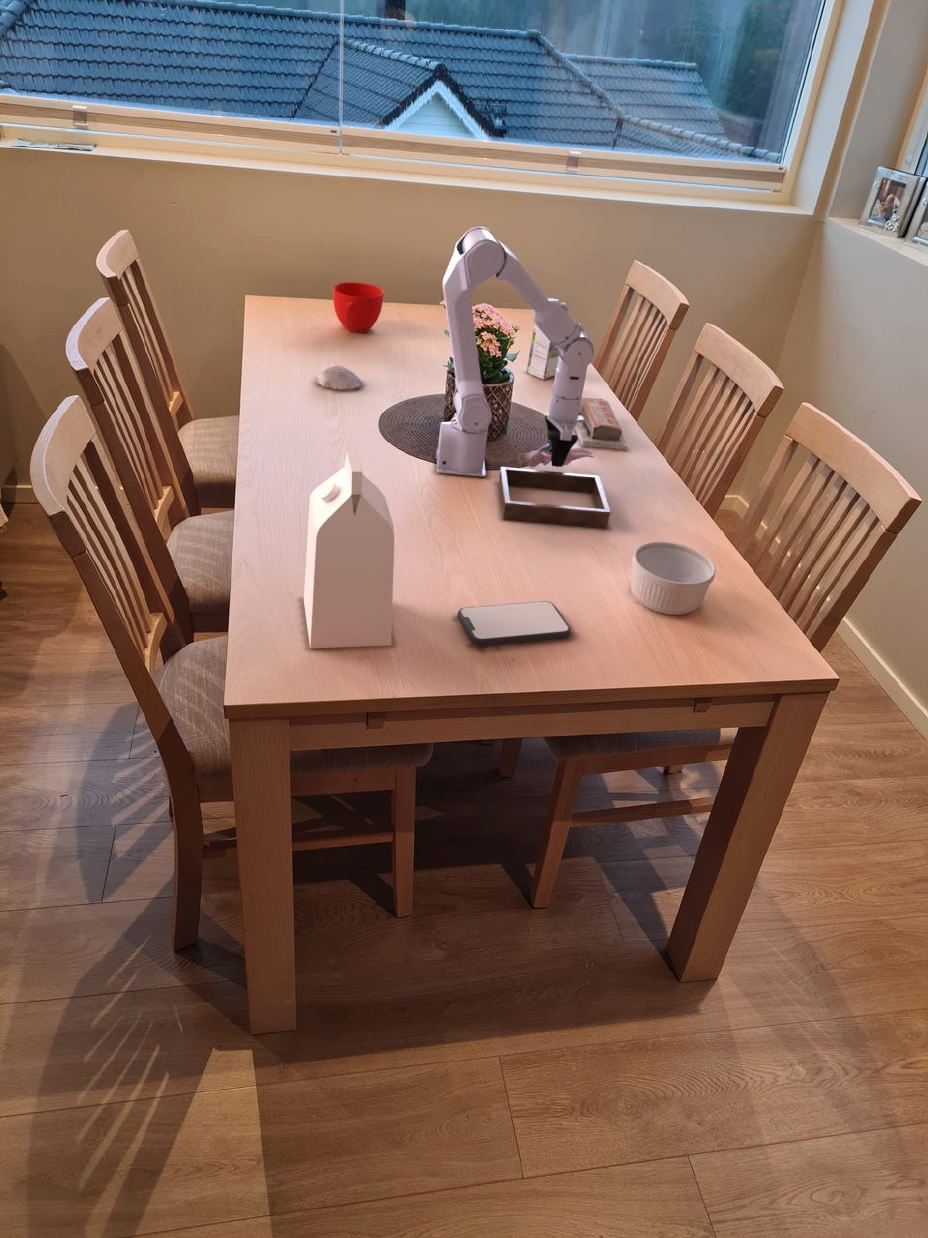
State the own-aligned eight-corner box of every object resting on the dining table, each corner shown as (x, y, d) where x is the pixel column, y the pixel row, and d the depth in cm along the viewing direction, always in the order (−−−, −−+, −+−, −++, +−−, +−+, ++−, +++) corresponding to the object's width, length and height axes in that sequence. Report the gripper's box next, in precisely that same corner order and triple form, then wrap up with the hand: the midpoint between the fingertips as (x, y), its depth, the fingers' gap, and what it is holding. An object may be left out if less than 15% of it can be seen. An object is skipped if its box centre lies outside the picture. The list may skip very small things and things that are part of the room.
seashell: (304, 369, 210) (332, 349, 216) (307, 390, 214) (335, 371, 220) (340, 381, 206) (367, 361, 212) (342, 402, 210) (369, 382, 216)
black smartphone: (549, 607, 148) (454, 615, 143) (551, 599, 147) (455, 607, 142) (572, 640, 141) (473, 650, 136) (574, 632, 140) (474, 641, 135)
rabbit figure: (521, 477, 186) (596, 469, 186) (520, 449, 182) (597, 442, 183) (516, 463, 191) (589, 456, 191) (516, 436, 187) (590, 429, 188)
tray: (502, 520, 169) (505, 502, 167) (497, 482, 182) (500, 466, 180) (607, 529, 171) (610, 512, 169) (595, 491, 183) (599, 475, 181)
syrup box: (540, 368, 238) (549, 311, 229) (558, 376, 234) (568, 318, 226) (525, 372, 234) (534, 314, 226) (543, 380, 231) (553, 321, 223)
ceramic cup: (321, 336, 239) (322, 296, 233) (339, 317, 253) (340, 279, 247) (371, 344, 238) (373, 304, 233) (386, 324, 252) (388, 287, 246)
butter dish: (571, 393, 212) (614, 397, 213) (567, 414, 215) (610, 417, 216) (585, 426, 197) (631, 430, 198) (581, 447, 200) (626, 451, 201)
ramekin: (610, 581, 156) (618, 545, 152) (675, 571, 161) (685, 536, 157) (653, 626, 147) (663, 588, 143) (721, 614, 152) (732, 577, 148)
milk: (391, 645, 135) (404, 482, 120) (310, 648, 132) (314, 482, 117) (379, 598, 144) (390, 442, 130) (303, 600, 142) (306, 441, 127)
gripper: (592, 411, 174) (579, 477, 182) (582, 382, 186) (570, 445, 194) (555, 407, 173) (543, 473, 181) (547, 378, 185) (536, 442, 193)
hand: (555, 459), depth 187 cm, fingers closed on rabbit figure, 6 cm apart
